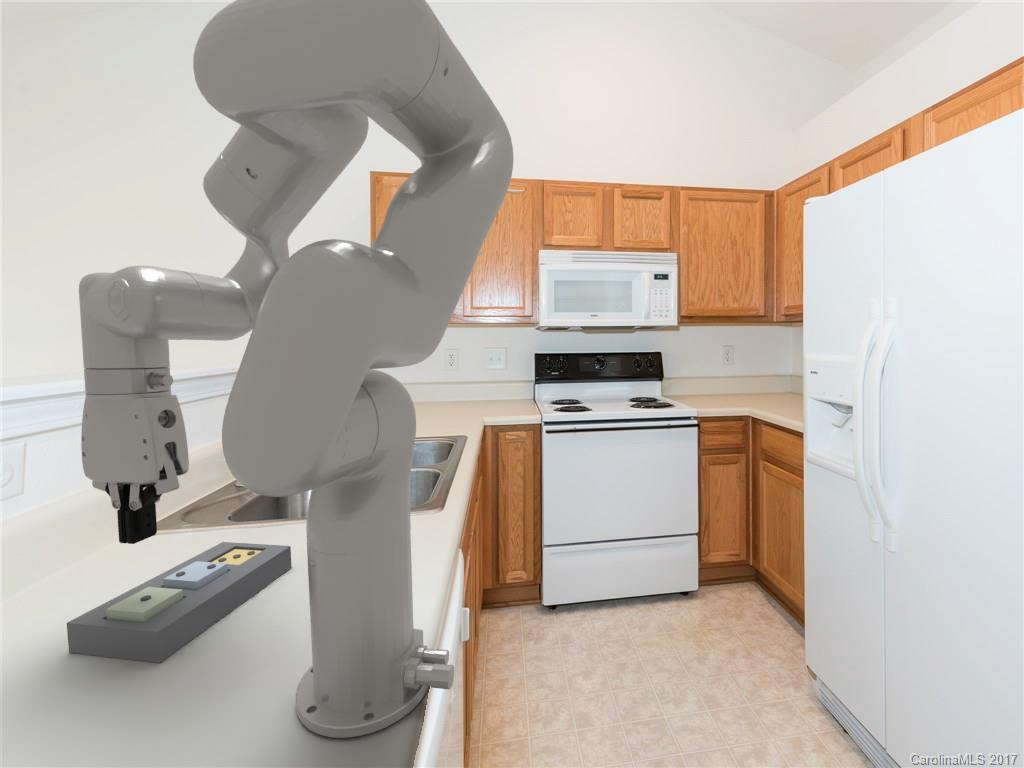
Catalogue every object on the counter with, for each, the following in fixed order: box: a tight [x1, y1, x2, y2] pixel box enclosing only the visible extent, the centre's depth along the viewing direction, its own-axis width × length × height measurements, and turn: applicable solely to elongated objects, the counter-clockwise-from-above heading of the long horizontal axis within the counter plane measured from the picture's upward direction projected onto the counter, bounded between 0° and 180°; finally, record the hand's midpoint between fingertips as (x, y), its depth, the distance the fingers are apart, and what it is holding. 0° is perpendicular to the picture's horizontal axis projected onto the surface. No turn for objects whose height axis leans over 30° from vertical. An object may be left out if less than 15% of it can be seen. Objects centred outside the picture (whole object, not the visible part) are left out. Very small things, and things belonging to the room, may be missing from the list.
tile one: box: [106, 587, 183, 623], centre depth 53 cm, size 5×5×2 cm
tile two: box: [163, 561, 228, 590], centre depth 60 cm, size 5×5×2 cm
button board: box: [66, 541, 293, 664], centre depth 60 cm, size 12×22×4 cm, turn 170°
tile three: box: [213, 549, 261, 565], centre depth 67 cm, size 5×5×2 cm
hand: (138, 538), depth 53 cm, fingers closed
